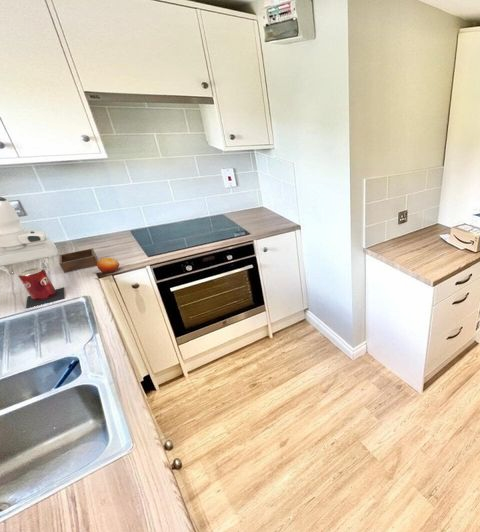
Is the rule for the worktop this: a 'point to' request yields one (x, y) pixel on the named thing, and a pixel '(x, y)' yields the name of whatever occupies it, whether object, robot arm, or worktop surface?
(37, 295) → the soda can
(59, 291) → the mat
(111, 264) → the fruit
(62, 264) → the basket
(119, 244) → the worktop surface
